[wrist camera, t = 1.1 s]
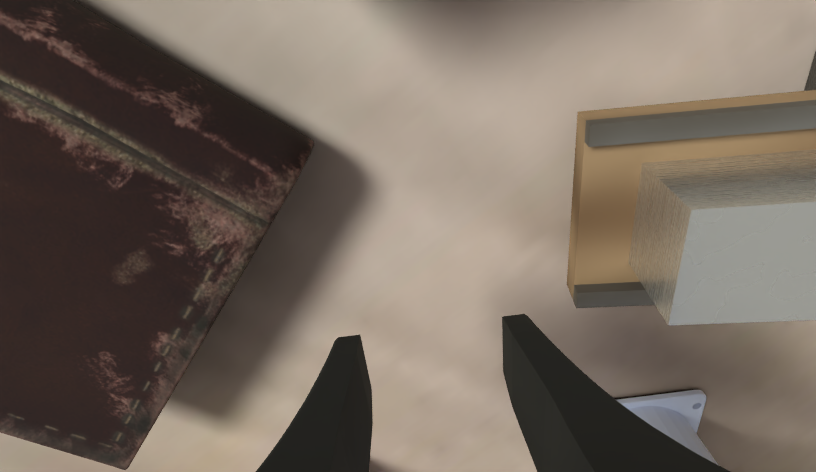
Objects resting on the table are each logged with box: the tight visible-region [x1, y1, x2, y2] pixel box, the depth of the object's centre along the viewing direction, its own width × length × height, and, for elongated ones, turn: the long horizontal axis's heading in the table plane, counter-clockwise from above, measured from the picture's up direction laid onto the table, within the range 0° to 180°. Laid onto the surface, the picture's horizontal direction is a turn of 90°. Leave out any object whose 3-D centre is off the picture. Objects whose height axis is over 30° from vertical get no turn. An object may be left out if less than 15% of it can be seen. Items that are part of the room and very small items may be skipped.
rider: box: [628, 149, 816, 325], centre depth 16 cm, size 4×6×4 cm
